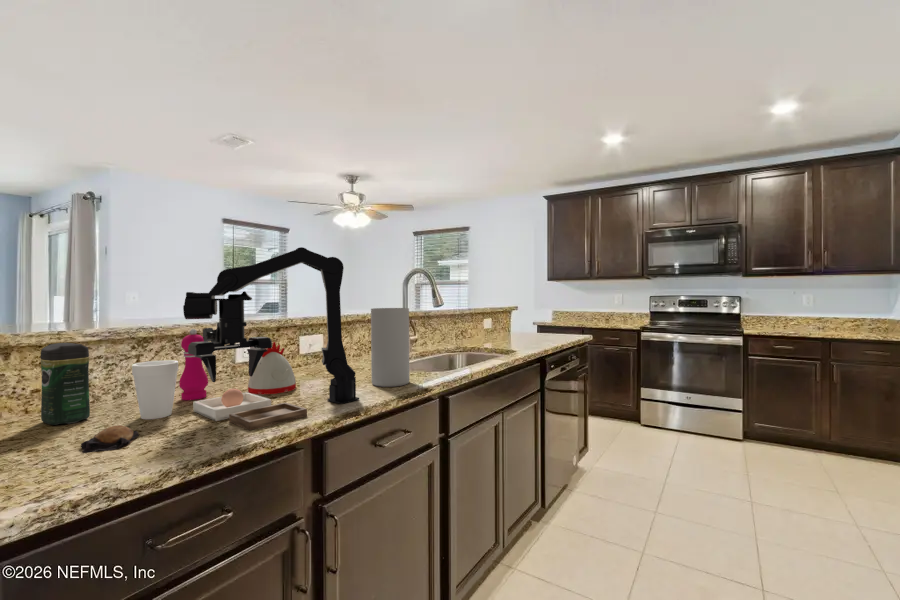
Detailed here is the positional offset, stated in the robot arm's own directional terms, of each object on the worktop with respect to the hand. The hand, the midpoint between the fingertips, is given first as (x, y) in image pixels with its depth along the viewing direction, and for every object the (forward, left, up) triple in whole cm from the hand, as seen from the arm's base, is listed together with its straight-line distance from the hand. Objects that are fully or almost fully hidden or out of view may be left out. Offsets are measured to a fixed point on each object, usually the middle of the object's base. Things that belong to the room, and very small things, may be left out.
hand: (232, 379), depth 110 cm
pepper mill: (+1, -23, -8) cm, 25 cm away
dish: (0, 0, -8) cm, 8 cm away
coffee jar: (+29, -22, -8) cm, 37 cm away
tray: (-2, +15, -8) cm, 17 cm away
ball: (0, 0, -8) cm, 8 cm away
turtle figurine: (+26, +6, -9) cm, 28 cm away
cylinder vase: (-48, +7, -8) cm, 49 cm away
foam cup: (+14, -10, -8) cm, 19 cm away
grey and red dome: (-19, -16, -8) cm, 26 cm away
